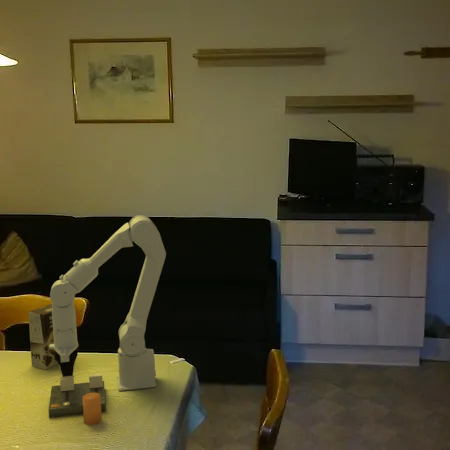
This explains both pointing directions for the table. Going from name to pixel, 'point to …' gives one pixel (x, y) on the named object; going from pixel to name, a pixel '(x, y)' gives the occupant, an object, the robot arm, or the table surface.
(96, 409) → the cap
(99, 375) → the block
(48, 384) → the table surface
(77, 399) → the breaker panel
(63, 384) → the block
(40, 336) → the coffee box
